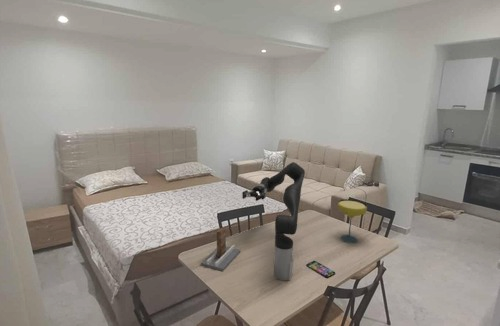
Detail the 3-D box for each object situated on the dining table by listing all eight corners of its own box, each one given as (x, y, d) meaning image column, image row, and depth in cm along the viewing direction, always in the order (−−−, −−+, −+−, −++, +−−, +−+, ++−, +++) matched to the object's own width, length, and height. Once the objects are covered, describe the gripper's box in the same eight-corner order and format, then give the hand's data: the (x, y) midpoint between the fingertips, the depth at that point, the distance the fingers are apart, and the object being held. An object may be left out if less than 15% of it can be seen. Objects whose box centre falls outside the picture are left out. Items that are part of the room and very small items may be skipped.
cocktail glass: (368, 239, 188) (372, 204, 183) (354, 248, 176) (358, 211, 171) (343, 230, 201) (346, 197, 196) (329, 238, 189) (332, 203, 184)
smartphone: (314, 260, 161) (336, 272, 150) (314, 261, 162) (336, 274, 150) (305, 264, 157) (327, 277, 145) (305, 266, 157) (327, 279, 145)
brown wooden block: (225, 254, 164) (225, 229, 161) (221, 258, 159) (221, 232, 156) (221, 253, 165) (221, 228, 162) (216, 257, 161) (216, 231, 157)
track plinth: (240, 252, 170) (240, 246, 169) (223, 271, 150) (223, 265, 149) (220, 247, 175) (220, 241, 174) (200, 265, 155) (200, 259, 155)
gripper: (249, 184, 186) (239, 190, 172) (269, 186, 181) (260, 194, 166) (249, 194, 188) (239, 202, 173) (269, 197, 182) (260, 206, 168)
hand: (249, 198), depth 170 cm, fingers open, 8 cm apart
